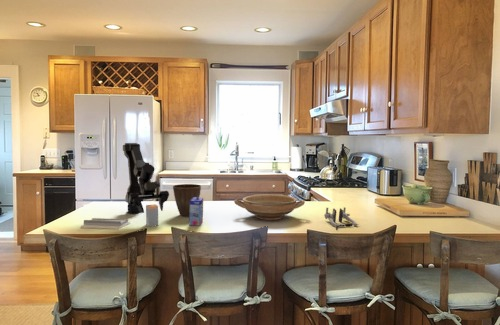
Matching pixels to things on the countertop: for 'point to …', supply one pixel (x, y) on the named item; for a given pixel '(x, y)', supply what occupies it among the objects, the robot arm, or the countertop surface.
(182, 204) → the plant pot
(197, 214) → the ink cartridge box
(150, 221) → the block
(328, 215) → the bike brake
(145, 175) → the robot arm
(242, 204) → the ceramic bowl
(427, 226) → the countertop surface
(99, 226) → the rail plate
